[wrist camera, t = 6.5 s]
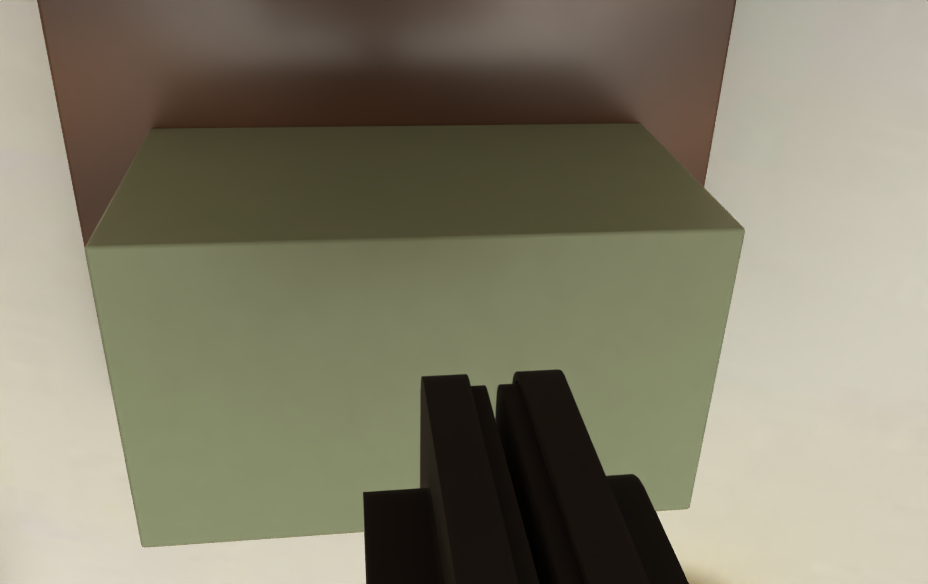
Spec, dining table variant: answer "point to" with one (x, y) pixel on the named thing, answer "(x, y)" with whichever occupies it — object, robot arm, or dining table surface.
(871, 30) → the dining table surface
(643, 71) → the board
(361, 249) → the block
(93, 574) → the dining table surface
